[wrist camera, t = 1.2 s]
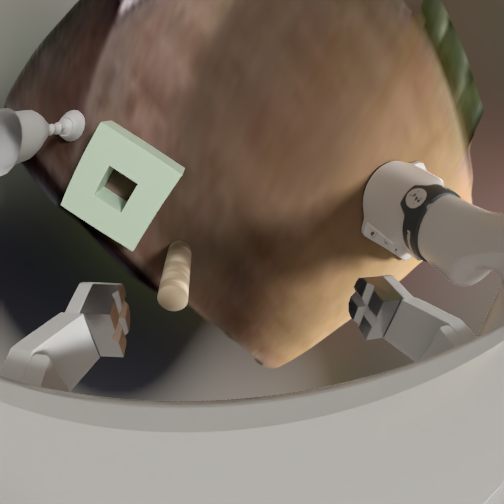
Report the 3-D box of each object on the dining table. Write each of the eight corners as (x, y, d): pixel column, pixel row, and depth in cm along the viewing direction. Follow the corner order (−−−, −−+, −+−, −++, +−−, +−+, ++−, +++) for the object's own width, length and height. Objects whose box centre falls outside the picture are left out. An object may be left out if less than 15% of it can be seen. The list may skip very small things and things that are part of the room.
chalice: (71, 95, 29) (-2, 96, 14) (98, 117, 32) (32, 127, 17) (47, 133, 31) (-26, 156, 16) (73, 155, 34) (5, 188, 19)
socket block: (185, 168, 39) (182, 174, 35) (139, 238, 43) (132, 251, 39) (111, 120, 33) (100, 121, 29) (72, 195, 37) (60, 205, 33)
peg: (196, 248, 45) (193, 295, 34) (183, 265, 46) (178, 315, 35) (176, 235, 44) (166, 281, 32) (164, 253, 45) (152, 302, 33)
